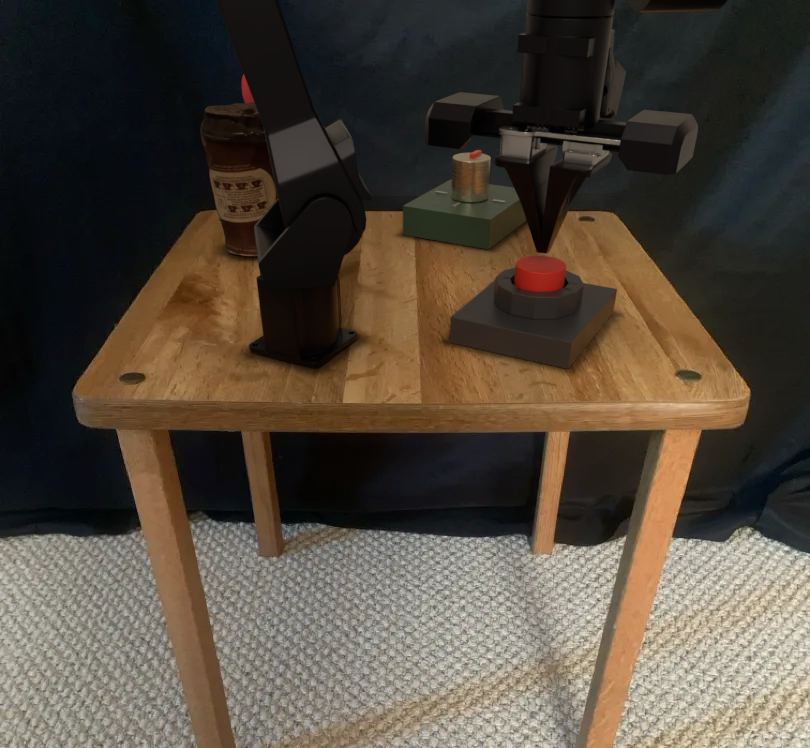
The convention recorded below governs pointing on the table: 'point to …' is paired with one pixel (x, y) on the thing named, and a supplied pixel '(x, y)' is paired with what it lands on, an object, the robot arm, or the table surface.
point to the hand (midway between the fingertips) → (543, 251)
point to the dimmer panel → (464, 217)
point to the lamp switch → (534, 319)
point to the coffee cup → (238, 171)
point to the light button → (540, 273)
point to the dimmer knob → (470, 176)
